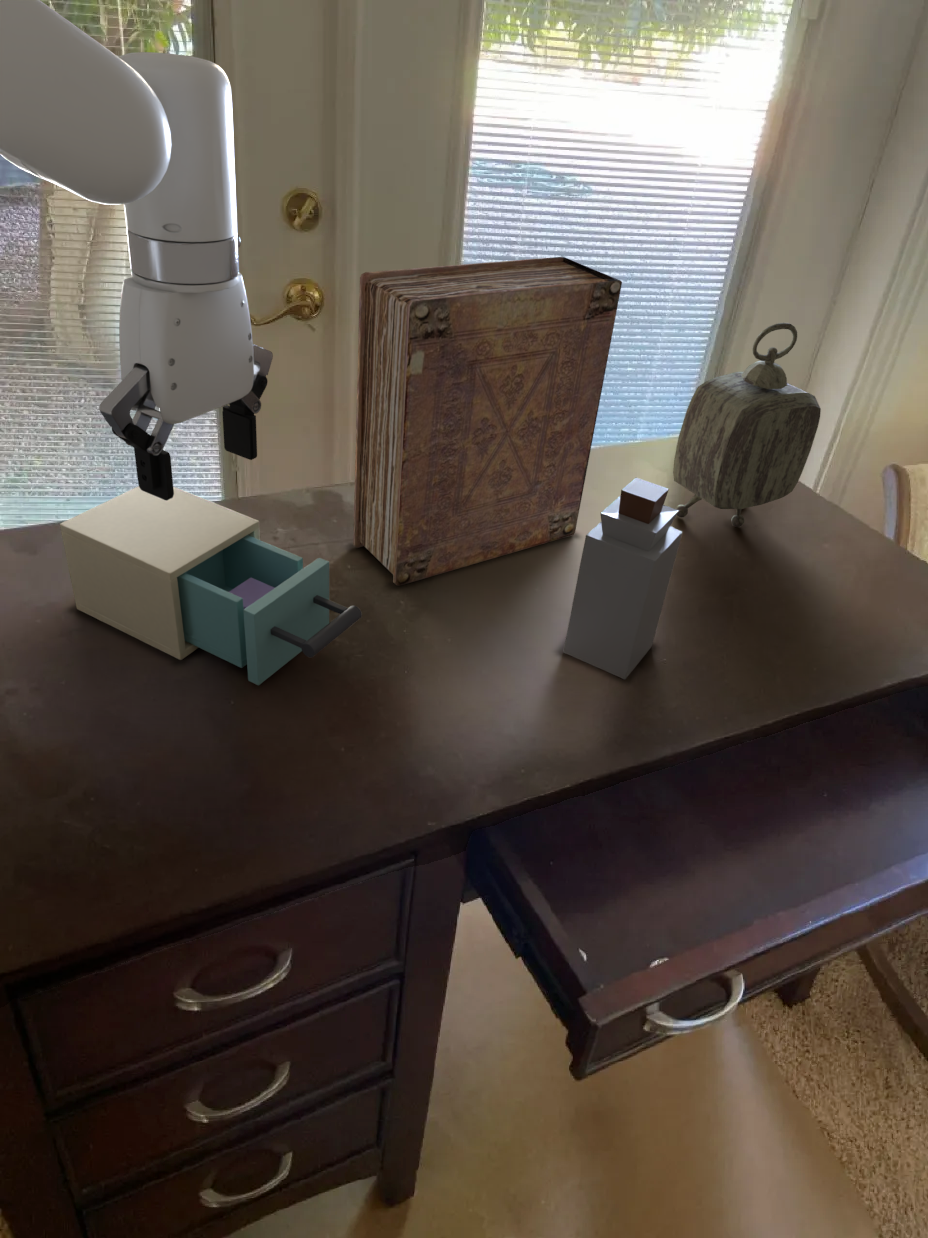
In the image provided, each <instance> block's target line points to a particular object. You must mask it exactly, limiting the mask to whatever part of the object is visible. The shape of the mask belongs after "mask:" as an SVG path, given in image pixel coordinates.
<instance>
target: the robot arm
mask: <svg viewBox="0 0 928 1238" xmlns="http://www.w3.org/2000/svg"><path fill="white" fill-rule="evenodd" d="M232 95H233V94H232V86H231V82H230V80H229V77H228V75H227V73H226V72H225V70H224V69H223V67H221V66H220V65H219V64H217V63H215V62H213V61H211V60H208V59H205V58H201V57H197V56H191V55H184V54H176V53H167V52H156V51H155V52H154V51H138V52H128V53H125V54H122V55H118V54H117V55H116V54H115V53H114V52H112V51H111V50H110V49H109V48H107V47H105V46H104V45H103V44H101V43H100V42H99V41H98V40H96V39H95V38H93V37H92V36H90V35H89V34H87V32H85V31H83V30H82V29H81V28H79V27H78V26H76V25H75V24H74V23H72V22H71V21H70V20H68V19H67V18H65V17H64V16H63V15H62V14H60V13H58V12H57V11H56V10H54V8H51V7H50V6H49V5H47V4H46V3H45V2H43V1H41V0H0V156H1V157H2V158H4V159H5V160H6V161H8V162H9V163H11V164H12V165H14V166H15V167H17V168H18V169H20V170H22V171H24V172H26V173H28V174H31V175H33V176H35V177H37V178H39V179H41V180H43V181H46V182H49V183H51V184H54V185H56V186H58V187H61V188H62V189H65V190H66V191H69V192H70V193H73V194H74V195H76V196H78V197H80V198H82V199H85V200H87V201H89V202H92V203H97V204H101V205H107V206H109V205H110V206H111V205H112V206H121V205H123V208H124V209H123V210H124V219H125V227H126V235H127V246H128V254H129V255H128V256H129V263H130V273H131V275H130V276H131V277H127V278H124V279H123V281H122V286H121V294H120V305H119V319H118V320H119V321H118V324H119V325H118V331H119V332H118V339H119V340H118V341H119V342H118V343H119V345H118V346H119V365H120V380H121V381H120V382H119V383H118V384H117V385H116V386H115V388H114V389H113V390H111V392H110V393H108V395H107V396H106V397H105V398H104V399H103V400H102V401H101V402H100V404H99V409H98V410H99V413H100V414H101V415H102V416H103V418H104V420H105V421H106V423H107V424H108V426H109V427H111V431H112V433H113V434H114V435H115V436H116V437H118V438H119V439H120V440H122V441H124V443H125V444H126V445H127V446H130V447H132V448H133V451H134V461H135V467H136V468H135V469H136V478H137V484H138V485H137V486H139V488H140V489H141V490H142V491H144V492H147V493H149V494H151V495H154V496H156V497H159V498H161V499H163V500H166V501H167V500H169V499H171V498H173V495H174V489H173V487H174V479H173V468H172V457H171V454H170V452H169V451H167V450H164V449H165V447H166V444H167V441H168V440H169V437H170V435H171V433H172V430H173V428H174V427H175V425H177V424H181V423H184V422H187V421H190V420H193V419H194V418H198V417H200V416H202V415H205V414H207V413H210V412H213V411H214V410H217V409H220V408H222V414H221V415H222V430H223V432H222V434H223V444H224V445H223V447H224V450H225V451H226V452H228V453H231V454H234V455H236V456H238V457H242V458H243V459H247V460H250V461H252V460H254V459H256V458H257V457H258V440H257V439H258V437H257V414H258V413H260V412H261V409H262V402H261V400H260V399H261V398H262V396H263V394H264V392H265V390H266V388H267V386H268V381H269V380H268V378H267V376H268V375H269V372H270V369H271V365H272V362H273V358H274V354H273V352H272V351H271V350H269V349H266V348H265V347H262V346H258V345H257V344H254V342H253V330H252V321H251V315H250V308H249V307H250V306H249V302H248V297H247V291H246V286H245V283H244V279H243V274H242V273H241V272H240V259H239V248H240V247H241V244H242V242H241V241H242V240H241V237H240V235H239V233H238V210H237V209H238V208H237V186H236V183H237V182H236V164H235V163H236V162H235V138H234V137H235V135H234V113H233V111H234V110H233V96H232ZM156 408H158V409H159V410H158V409H156ZM131 411H135V413H134V415H133V418H132V416H131ZM152 420H154V421H156V423H155V425H154V427H153V429H152V432H151V433H148V432H147V430H148V428H149V426H150V423H151V422H152Z"/></svg>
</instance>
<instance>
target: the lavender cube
mask: <svg viewBox="0 0 928 1238" xmlns="http://www.w3.org/2000/svg"><path fill="white" fill-rule="evenodd" d="M273 589H274V587H272V586H270V585H267V584H265V583H263V582H260V581H258V580H256V579H253V578H249V579H248V580H246V581H245V582H243V583H242V584H240V585H239V586H237V587H235V588H234V589H232V590H231V591H229V592H230V593H232V594H234V595H236V596H238V597H241V598H243V609H245V608H247V607H248V606H250V605H251V604H253V603H254V602H255V601H257V600H258V599H260V598H261V597H263V596H264V595H266V594H267V593H268V592H270V591H271V590H273Z"/></svg>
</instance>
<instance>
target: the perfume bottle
mask: <svg viewBox="0 0 928 1238" xmlns="http://www.w3.org/2000/svg"><path fill="white" fill-rule="evenodd" d="M669 490H670V489H669V488H668V487H665V486H663V485H660V484H657V483H654V482H651V481H648V480H644V479H642V478H640V477H634V478H633V479H632V480H631V481H630V482H629V483H627V484H626V485H625V486H624V487H623V488H622V489H621V490H620V495H619V496H618V497H617V498H615V500H613V501H612V502H611V503H610V504H609V505H607V506H606V507H605V508H604V509H603V510H602V511H600V522H598V523H597V525H596V526H594V528H592V529H591V530H590V531H588V533H586V534H585V539H584V542H583V543H584V544H583V547H582V553H581V559H580V564H579V569H578V574H577V579H576V584H575V590H574V595H573V600H572V604H571V610H570V615H569V620H568V624H567V630H566V635H565V641H564V645H563V649H562V651H563V654H566V655H567V656H568V655H569V656H570V657H573V658H574V659H577V660H579V661H582V662H584V663H586V664H587V665H588V664H589V665H590V666H593V667H595V668H598V669H599V670H602V671H604V672H607V673H609V674H611V675H612V676H613V675H614V676H615V677H617V678H618V677H619V678H621V679H623V680H626V679H627V678H628V676H629V675H630V674H631V673H632V672H633V671H634V670H635V668H636V667H637V665H638V664H639V663H640V662H641V660H642V659H644V657H645V655H646V654H647V653H648V652H649V651H650V650H651V648H652V647H653V644H654V641H655V636H656V632H657V629H658V625H659V622H660V618H661V614H662V610H663V607H664V603H665V599H666V596H667V592H668V587H669V584H670V581H671V577H672V573H673V569H674V566H675V561H676V559H677V556H678V555H677V554H678V551H679V547H680V543H681V540H682V536H683V533H684V531H683V530H681V529H677V528H675V527H673V526H672V524H673V522H674V520H675V519H676V517H677V513H678V511H679V510H676V508H673V507H671V506H668V505H665V502H666V499H667V496H668V493H669Z"/></svg>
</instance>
